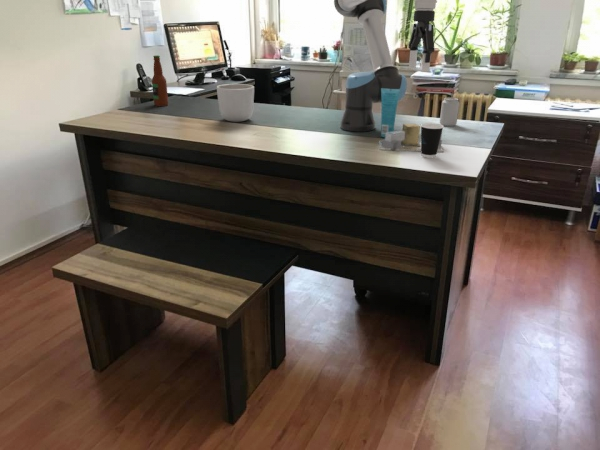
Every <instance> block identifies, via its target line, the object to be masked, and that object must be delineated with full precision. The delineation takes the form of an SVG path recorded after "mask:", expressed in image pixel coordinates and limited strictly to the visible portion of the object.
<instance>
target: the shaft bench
mask: <svg viewBox="0 0 600 450" xmlns="http://www.w3.org/2000/svg"><path fill="white" fill-rule="evenodd" d="M442 136H443V132H442V133H441V138H440V142H439V146H438V150H437V153H444V150H443V148H442V142H443V140H442ZM404 139H405V132H404V131H402V130H399V129H398V130H394V131H392V132H386V136H385V137H384V139H382V140H379V141H378V144H379V150H380V151H403V152H421V141H418V145H405V144H404V143H402V142H401V140H404Z"/></svg>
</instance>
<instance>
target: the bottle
mask: <svg viewBox="0 0 600 450" xmlns="http://www.w3.org/2000/svg"><path fill="white" fill-rule="evenodd" d="M160 57H161V56H160V55H153V76H152V78H151V86H152V87H151V88H152V97H153V98H152V99H153V105H154V106H156V107H165V106H168V105H169V98H168V96H169V95H168V85H167V78H166V77H165V76H164V74H163V68H162V67H163V66H162V64H161V61H160V60H161V58H160Z"/></svg>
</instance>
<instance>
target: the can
mask: <svg viewBox="0 0 600 450" xmlns="http://www.w3.org/2000/svg"><path fill="white" fill-rule="evenodd" d="M459 107H460V101H459V98H456V97H444V99H443V101H442V102H441V108H440V117H439V124H441V125H443V126H444V127H455V126H456V125H457V123H458V116H459Z"/></svg>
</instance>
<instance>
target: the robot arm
mask: <svg viewBox="0 0 600 450" xmlns="http://www.w3.org/2000/svg"><path fill="white" fill-rule="evenodd" d="M437 3H438V0H414V9H415V10H414V12H413V21H414V22H417V23H413V25H412V32H411V36H410V38H409V43H408V46H407V48H408V49H409V62H408V69H416V68H417V60H418V51H419V48H418V47H419V45H420V44H421V43H420V42H421V41H422V44H423V52H422V62H421V63H422V64H421V72H422V73H430V67H431V59H432V58H431V57H432V54H433V53H434V52H435V39H434V24H430V23H431V22H433V23H434V21H435V14H436V12H435V9H436V6H437ZM333 5H334V8H335V10H336V11H337V13H339V14H340V15H341V16H343V17H347V18H356V19H357V22H358V24H359V25H360V26H362V27H363V28H362V30H363V32H364V37H365V41H366V45H367V49H368V53H369V56H370V61H371V66H372V69H373V71H358V72H353V73H350V74H348V76H347V77H346V84H345V105H344V107H345V108H344V112H343V115H342V117H341V121H340V125H339V126H340V129H341V130H344V131H350V132H370V131H373V130H375V128H376V121H375V117H374V113H373V104H382V101H381V88H385V89H400V93H399V97H398V102H400V101H402V100H403V99H404V97H405V95H406V92H407V85H408V83H407V82H408V81H407V77H406V75H404V74H402V73H399V70H398V67H397V66H395V65H393V60H392V56H391V53H390V47H389V44H388V40H387V37H386V36H387V35H386V31H385V28H384V24H383V19H384V16H385V13H386V12H387V6H386V5H387V0H333Z"/></svg>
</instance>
